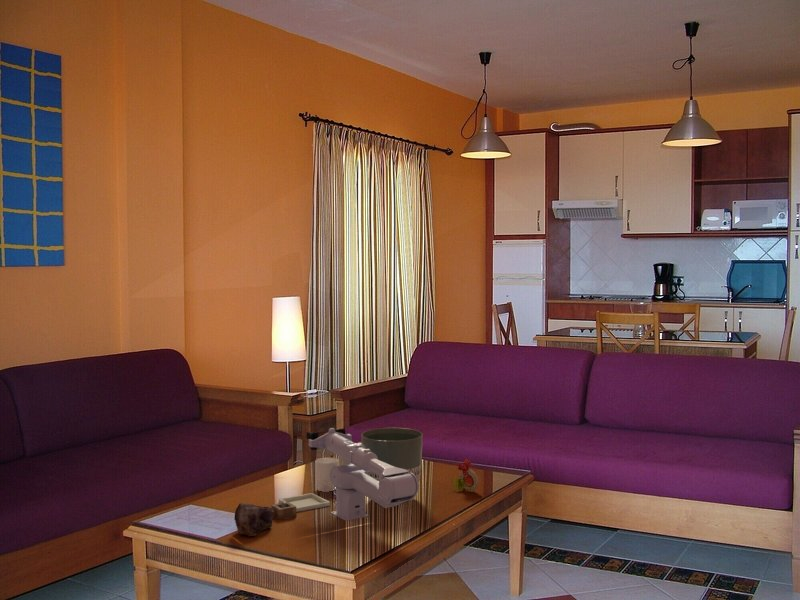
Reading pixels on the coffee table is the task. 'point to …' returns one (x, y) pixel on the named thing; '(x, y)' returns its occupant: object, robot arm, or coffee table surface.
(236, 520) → the rock
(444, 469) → the coffee table surface
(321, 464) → the white cup
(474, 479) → the bird rattle
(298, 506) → the tray
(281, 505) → the grey knobbed lid
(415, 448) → the planter
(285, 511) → the brown square frame
